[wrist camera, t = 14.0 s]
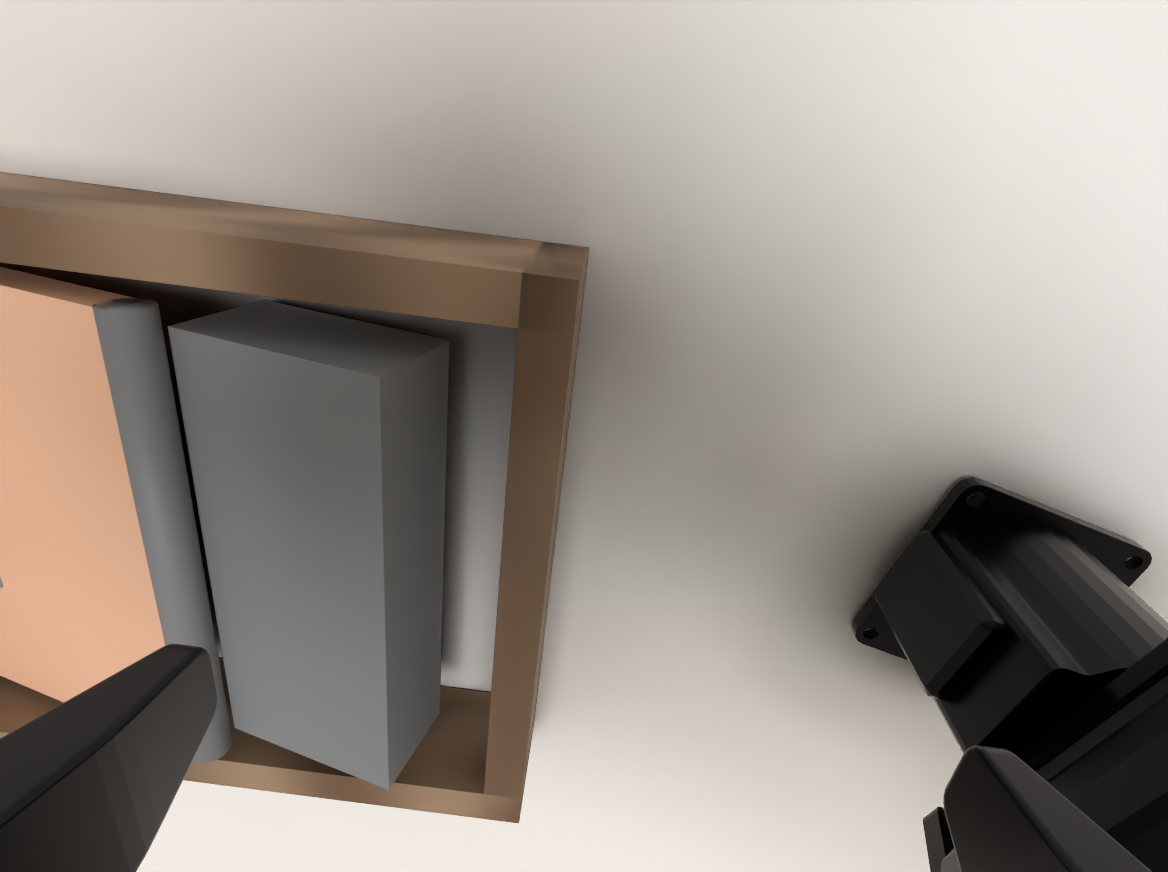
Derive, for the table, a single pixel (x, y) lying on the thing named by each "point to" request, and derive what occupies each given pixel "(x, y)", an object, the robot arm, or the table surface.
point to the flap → (227, 512)
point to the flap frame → (383, 283)
